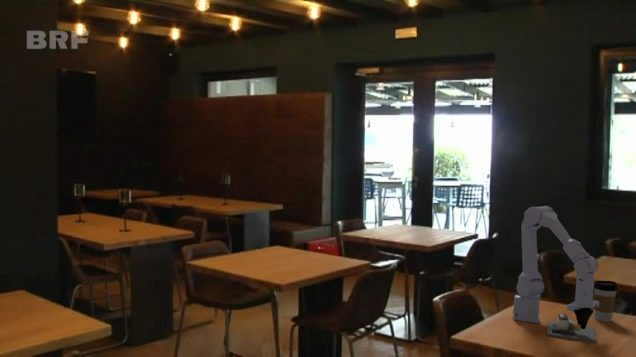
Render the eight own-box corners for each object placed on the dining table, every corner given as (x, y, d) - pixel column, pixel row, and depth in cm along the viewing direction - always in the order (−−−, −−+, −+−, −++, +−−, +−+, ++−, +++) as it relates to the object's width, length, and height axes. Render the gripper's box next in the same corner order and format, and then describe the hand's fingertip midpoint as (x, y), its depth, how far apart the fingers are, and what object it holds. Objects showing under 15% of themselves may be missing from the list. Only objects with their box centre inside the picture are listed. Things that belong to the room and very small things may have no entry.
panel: (547, 336, 216) (547, 330, 216) (547, 323, 231) (548, 318, 231) (596, 343, 211) (596, 337, 211) (594, 329, 226) (594, 324, 225)
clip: (556, 320, 228) (556, 313, 228) (564, 320, 228) (564, 313, 228) (573, 330, 216) (573, 324, 216) (581, 330, 216) (582, 324, 216)
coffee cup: (617, 323, 234) (620, 285, 233) (594, 321, 236) (596, 283, 235) (611, 317, 242) (614, 280, 241) (588, 315, 244) (591, 278, 243)
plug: (555, 331, 219) (556, 318, 218) (555, 328, 223) (556, 314, 223) (569, 334, 217) (570, 319, 217) (569, 330, 222) (570, 316, 221)
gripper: (580, 295, 210) (577, 334, 211) (607, 291, 217) (605, 329, 218) (563, 290, 216) (560, 328, 217) (590, 286, 223) (588, 323, 224)
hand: (581, 328), depth 218 cm, fingers closed
